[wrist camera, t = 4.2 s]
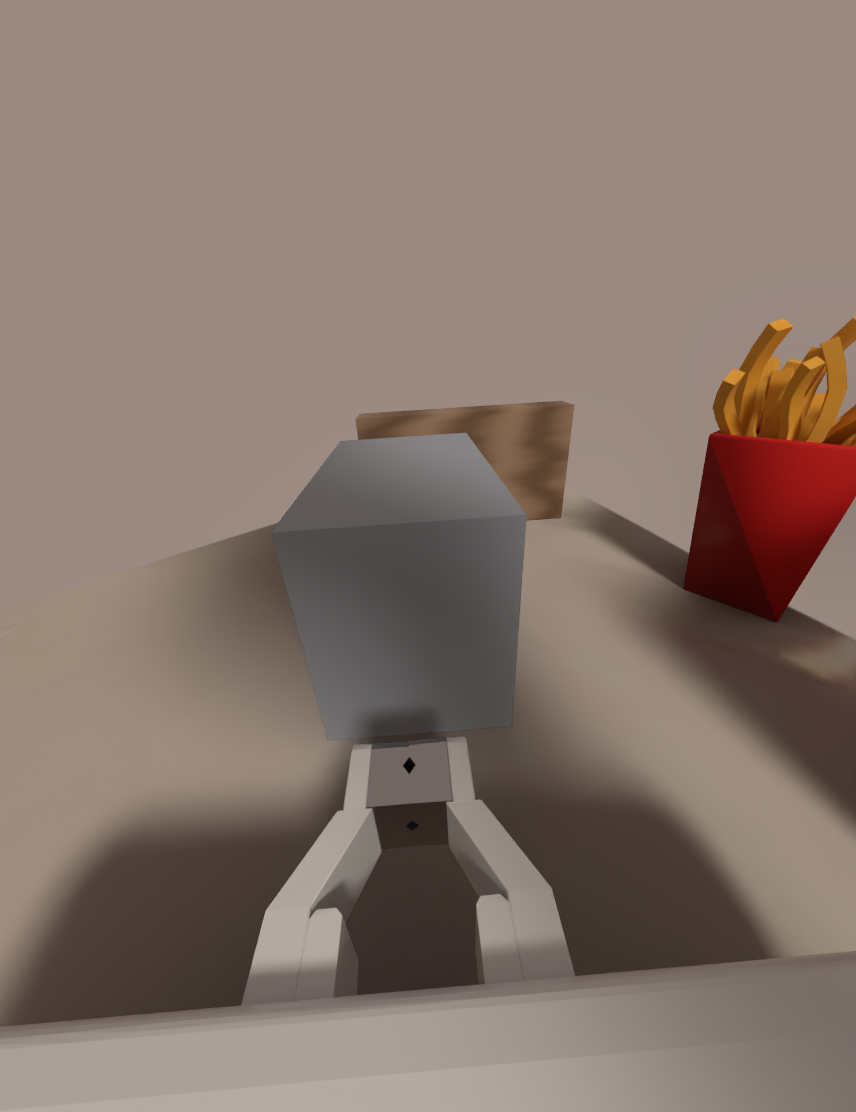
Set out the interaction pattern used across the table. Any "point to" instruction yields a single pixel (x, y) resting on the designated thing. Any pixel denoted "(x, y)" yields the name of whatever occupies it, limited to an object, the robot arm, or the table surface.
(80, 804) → the table surface
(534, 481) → the walnut board
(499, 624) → the slate block
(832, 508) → the french fries
